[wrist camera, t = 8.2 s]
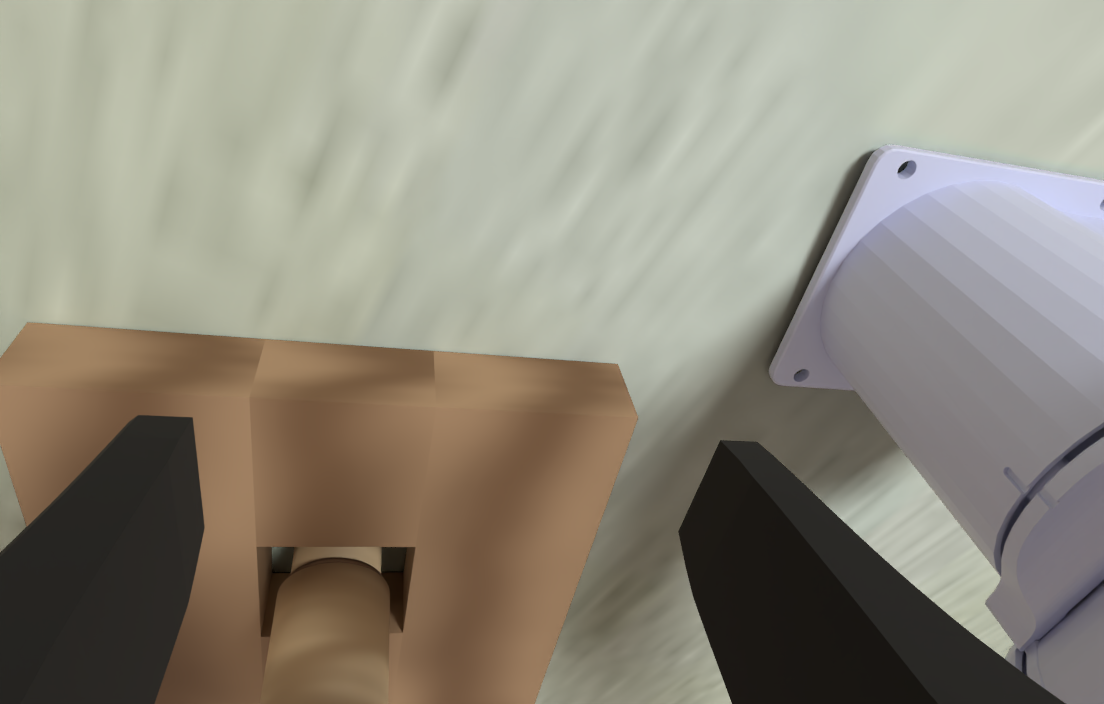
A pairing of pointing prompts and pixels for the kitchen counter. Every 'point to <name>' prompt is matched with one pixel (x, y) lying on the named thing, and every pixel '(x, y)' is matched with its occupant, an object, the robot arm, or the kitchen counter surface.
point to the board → (346, 487)
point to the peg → (330, 630)
